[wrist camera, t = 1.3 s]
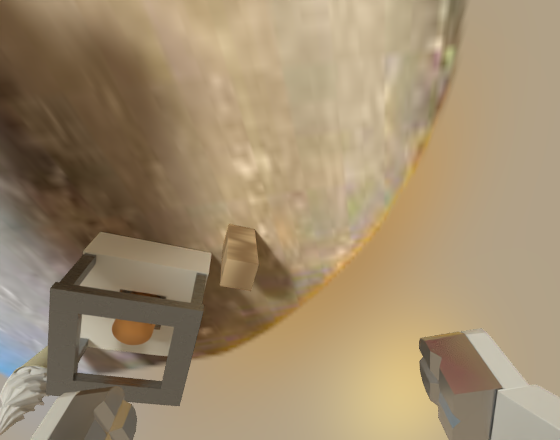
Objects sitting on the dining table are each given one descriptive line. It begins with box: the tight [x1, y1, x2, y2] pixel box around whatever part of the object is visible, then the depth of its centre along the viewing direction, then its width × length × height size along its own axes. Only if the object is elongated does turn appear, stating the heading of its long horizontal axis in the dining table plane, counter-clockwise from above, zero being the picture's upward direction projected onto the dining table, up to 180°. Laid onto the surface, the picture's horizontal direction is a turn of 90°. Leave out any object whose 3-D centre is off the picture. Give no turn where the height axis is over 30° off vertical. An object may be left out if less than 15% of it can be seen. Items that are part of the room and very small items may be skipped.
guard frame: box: [46, 253, 207, 406], centre depth 37 cm, size 14×14×7 cm
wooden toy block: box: [220, 224, 259, 291], centre depth 39 cm, size 4×4×9 cm
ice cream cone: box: [0, 346, 49, 435], centre depth 39 cm, size 5×5×15 cm
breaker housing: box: [80, 232, 212, 356], centre depth 42 cm, size 14×14×5 cm
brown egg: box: [112, 291, 160, 345], centre depth 39 cm, size 4×4×5 cm
